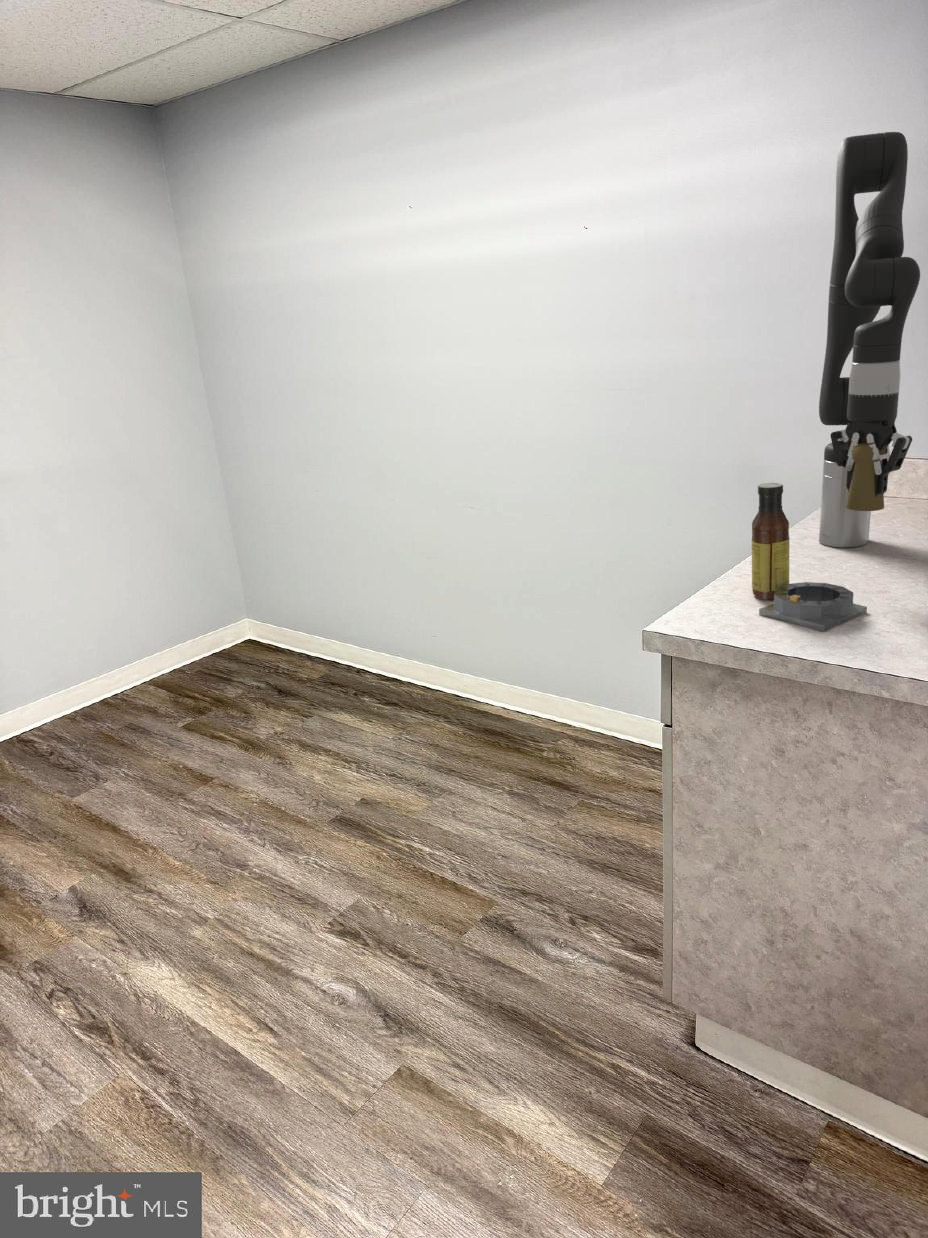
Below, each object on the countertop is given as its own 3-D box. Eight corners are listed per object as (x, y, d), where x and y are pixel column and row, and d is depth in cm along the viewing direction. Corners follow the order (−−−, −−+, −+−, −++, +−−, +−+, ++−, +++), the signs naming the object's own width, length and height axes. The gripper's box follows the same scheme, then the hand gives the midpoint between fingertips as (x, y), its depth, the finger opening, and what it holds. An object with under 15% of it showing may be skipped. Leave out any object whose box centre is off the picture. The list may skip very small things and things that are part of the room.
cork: (887, 510, 149) (892, 444, 145) (847, 511, 151) (852, 445, 147) (881, 502, 155) (886, 438, 151) (843, 503, 156) (847, 439, 152)
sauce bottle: (788, 590, 160) (794, 480, 154) (788, 602, 155) (794, 488, 148) (750, 589, 162) (754, 480, 156) (748, 600, 157) (752, 488, 150)
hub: (801, 597, 157) (803, 573, 155) (866, 612, 147) (868, 587, 146) (759, 614, 150) (760, 590, 149) (824, 631, 141) (825, 605, 139)
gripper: (929, 389, 142) (918, 496, 148) (849, 385, 154) (842, 485, 159) (900, 394, 139) (891, 504, 144) (821, 391, 150) (815, 492, 156)
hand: (865, 493), depth 152 cm, fingers closed on cork, 4 cm apart
